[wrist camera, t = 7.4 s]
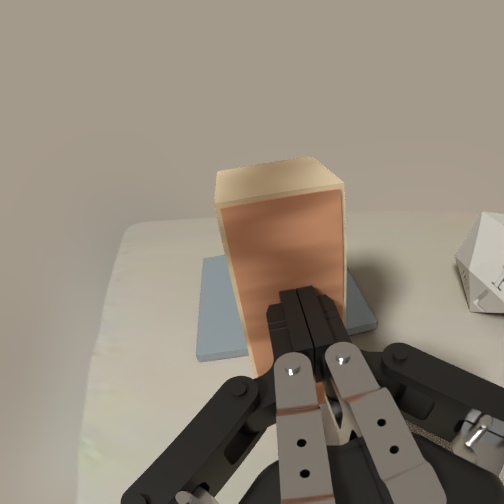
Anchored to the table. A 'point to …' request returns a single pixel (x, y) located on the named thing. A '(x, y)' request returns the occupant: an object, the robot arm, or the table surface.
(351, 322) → the mat
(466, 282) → the die
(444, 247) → the table surface
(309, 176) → the beech block
